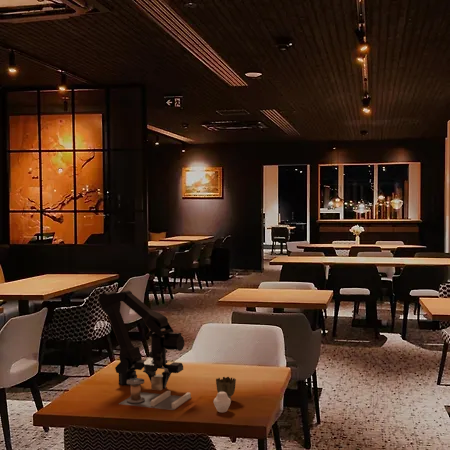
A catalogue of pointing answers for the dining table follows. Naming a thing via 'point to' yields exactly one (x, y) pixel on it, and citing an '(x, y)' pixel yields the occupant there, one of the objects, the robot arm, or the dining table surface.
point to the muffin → (222, 402)
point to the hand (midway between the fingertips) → (158, 388)
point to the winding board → (161, 400)
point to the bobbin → (135, 391)
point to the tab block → (157, 382)
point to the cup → (226, 385)
